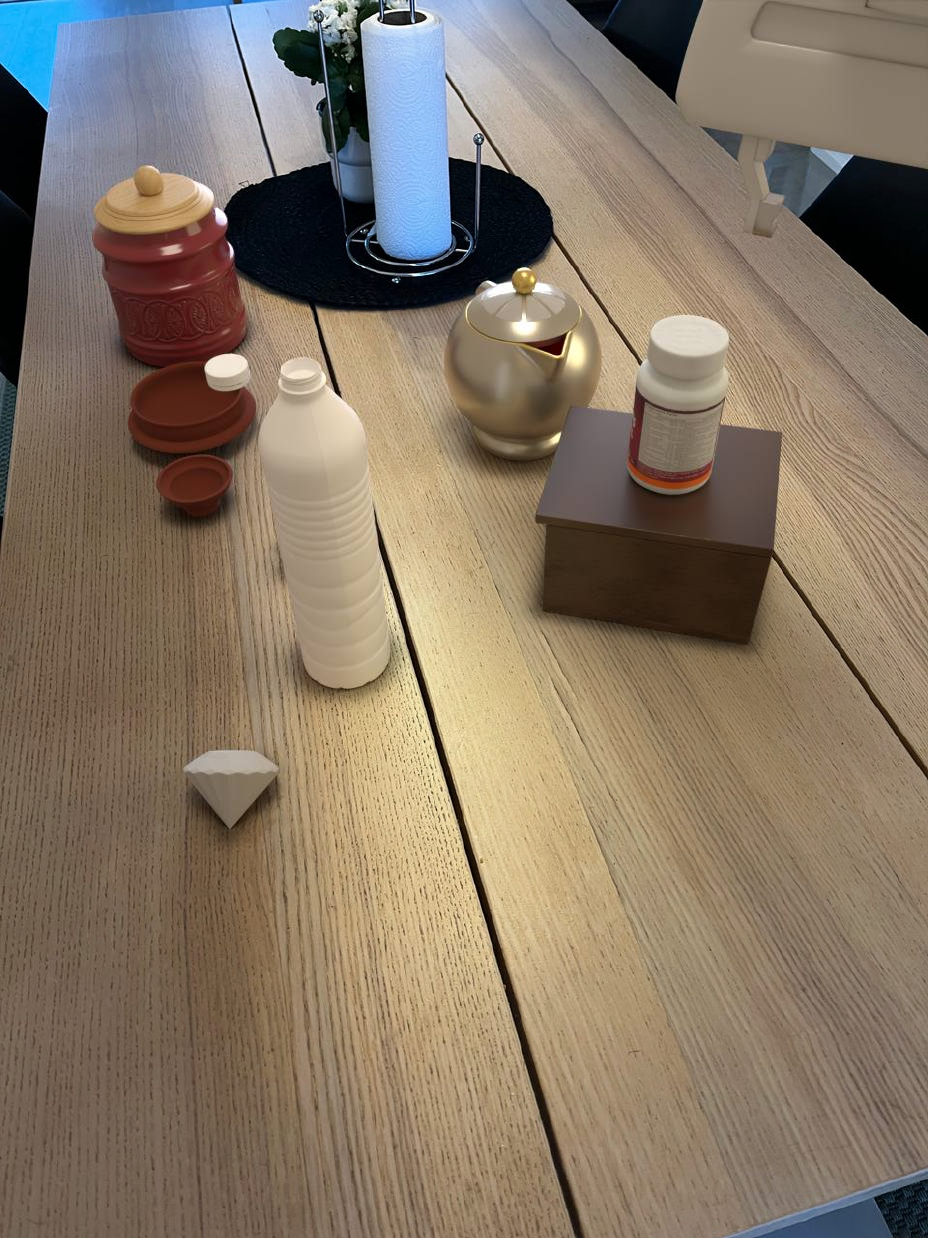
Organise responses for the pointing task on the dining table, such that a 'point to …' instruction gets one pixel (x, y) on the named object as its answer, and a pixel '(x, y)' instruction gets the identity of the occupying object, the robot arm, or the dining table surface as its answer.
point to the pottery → (189, 431)
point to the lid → (616, 504)
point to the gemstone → (231, 780)
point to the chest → (652, 583)
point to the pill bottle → (678, 405)
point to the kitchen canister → (169, 269)
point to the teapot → (521, 364)
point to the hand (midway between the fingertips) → (852, 253)
